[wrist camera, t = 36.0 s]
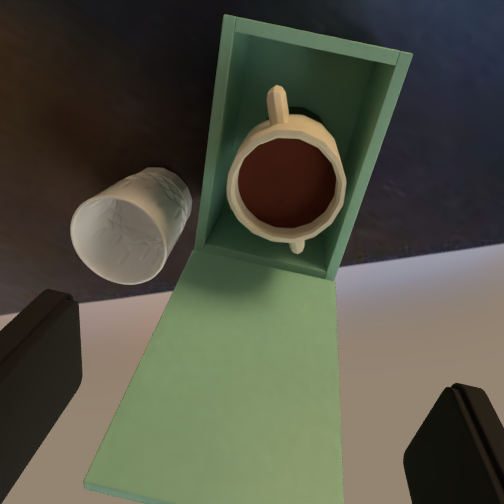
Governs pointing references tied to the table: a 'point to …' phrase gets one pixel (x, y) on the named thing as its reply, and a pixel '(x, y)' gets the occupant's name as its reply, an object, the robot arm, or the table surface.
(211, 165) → the bin
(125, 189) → the white cup
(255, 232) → the character mug
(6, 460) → the robot arm
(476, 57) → the table surface
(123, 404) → the bin lid
